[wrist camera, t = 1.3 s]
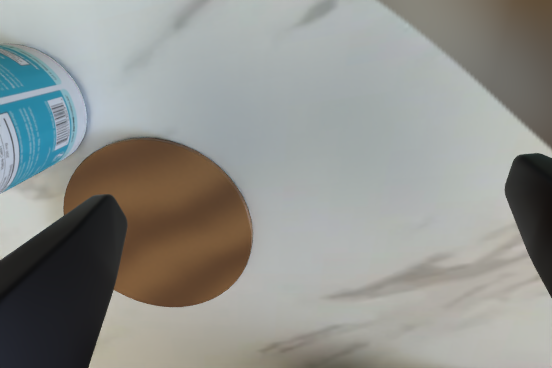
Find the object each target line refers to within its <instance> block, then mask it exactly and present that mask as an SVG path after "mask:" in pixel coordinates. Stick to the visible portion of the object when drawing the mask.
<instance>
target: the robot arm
mask: <svg viewBox="0 0 552 368" xmlns="http://www.w3.org/2000/svg"><path fill="white" fill-rule="evenodd" d="M505 195H506V198H507V201H508V203H509V206H510V208H511V211H512V214H513V216H514V219H515V221H516V224H517V226H518V229H519V231H520V234H521V237H522V239H523V242H524V244H525V247H526V249H527V251H528V254H529V256H530V258H531V260H532V262H533V264H534V266H535V268H536V270H537V272H538V274H539V275H540V277H541V279H542V281H543V283H544V285H545V287H546V288H547V290H548V292H549V294H550V296H551V298H552V158H550V157H548V156H545V155H543V154H539V153H534V154H523V155H519V156H517V157H516V158H515V159H514V161H513V163H512V166H511V169H510V172H509V175H508V178H507V181H506V184H505ZM127 227H128V223H127V218H126V216H125V214H124V213H123V211H122V209H121V208H120V206H119V204H118V202H117V201H116V199H115V198H114V196H112V195H111V194H101V195H94V196H92V197H90V198H89V199H87V200H86V201H84V202H83V203H82V204H80V205H79V206H77V207H76V208H74V209H73V210H72V211H70V212H69V213H67V214H66V215H64V216H63V217H62V218H60V219H59V220H57V221H56V222H54V223H53V224H52V225H50V226H49V227H47V228H46V229H44V230H43V231H41V232H40V233H39V234H37V235H36V236H34V237H33V238H31V239H30V240H29V241H27V242H26V243H24V244H23V245H21V246H20V247H19V248H17V249H16V250H14V251H13V252H11V253H10V254H9V255H7V256H6V257H4V258H3V259H1V260H0V368H88V367H89V364H90V361H91V357H92V354H93V351H94V348H95V345H96V342H97V339H98V336H99V333H100V330H101V327H102V324H103V321H104V318H105V315H106V312H107V309H108V305H109V302H110V299H111V296H112V293H113V290H114V287H115V283H116V279H117V275H118V270H119V266H120V261H121V256H122V251H123V247H124V242H125V237H126V232H127Z"/></svg>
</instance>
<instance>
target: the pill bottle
mask: <svg viewBox="0 0 552 368" xmlns="http://www.w3.org/2000/svg"><path fill="white" fill-rule="evenodd" d="M86 126H87V112H86V107H85V103H84V100H83V97H82V94H81V92H80V90H79V88H78V86H77V85H76V83H75V82H74V80H73V79H72V77H71V76H70V75H69V74H68V73H67V71H66V70H65V69H64V68H63V67H62V66H61V65H59V64H58V63H57V62H56V61H55V60H53V59H52V58H50V57H49V56H47V55H46V54H44V53H42V52H40V51H38V50H35V49H33V48H30V47H27V46H22V45H16V44H0V194H1V193H2V192H4V191H6V190H8V189H10V188H12V187H14V186H16V185H17V184H19V183H21V182H23V181H25V180H27V179H28V178H30V177H32V176H34V175H36V174H38V173H40V172H41V171H43V170H45V169H47V168H48V167H50V166H52V165H54V164H56V163H58V162H59V161H61V160H63V159H65V158H66V157H68V156H69V155H71V154H72V153H73V152H74V151H75V150H76V149H77V147H78V146H79V145H80V143H81V142H82V140H83V137H84V135H85V131H86Z"/></svg>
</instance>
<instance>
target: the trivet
mask: <svg viewBox="0 0 552 368" xmlns="http://www.w3.org/2000/svg"><path fill="white" fill-rule="evenodd" d="M101 194H111V195H112V196H114V198H115V199H116V201H117V202H118V204H119V206H120V208H121V209H122V211H123V213H124V214H125V216H126V218H127V223H128V227H127V232H126V237H125V242H124V247H123V251H122V256H121V261H120V266H119V270H118V275H117V279H116V283H115V287H114V290H115V291H117V292H119V293H121V294H123V295H125V296H127V297H129V298H132V299H134V300H137V301H140V302H143V303H147V304H151V305H156V306H164V307H184V306H192V305H196V304H200V303H203V302H206V301H208V300H211V299H213V298H215V297H217V296H219V295H220V294H222V293H223V292H225V291H226V290H227V289H229V288H230V287H231V286H232V285H233V284H234V283H235V282H236V281H237V279H238V278H239V277H240V275H241V274H242V272H243V270H244V268H245V266H246V265H247V262H248V259H249V256H250V252H251V247H252V236H253V230H252V222H251V217H250V214H249V210H248V207H247V205H246V203H245V200H244V198H243V196H242V195H241V193H240V191H239V190H238V188H237V186H236V185H235V184H234V183H233V181H232V180H231V179H230V177H229V176H228V175H227V174H226V173H225V172H224V171H223V170H222V169H221V168H220V167H219V166H217V165H216V164H215V163H214V162H212V161H211V160H210V159H208V158H207V157H205V156H204V155H202V154H200V153H199V152H197V151H195V150H193V149H191V148H188V147H186V146H184V145H181V144H178V143H175V142H172V141H167V140H162V139H157V138H132V139H126V140H121V141H117V142H115V143H112V144H109V145H107V146H105V147H103V148H101V149H99V150H98V151H96V152H94V153H93V154H91V155H90V156H89V157H87V158H86V159H85V160H84V161H83V162H82V163H81V164H80V165H79V166H78V168H77V169H76V170H75V172H74V174H73V175H72V177H71V179H70V181H69V184H68V186H67V189H66V193H65V197H64V215H66V214H67V213H69V212H70V211H72V210H73V209H74V208H76V207H77V206H79V205H80V204H82V203H83V202H84V201H86V200H87V199H89V198H90V197H92V196H94V195H101Z"/></svg>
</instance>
